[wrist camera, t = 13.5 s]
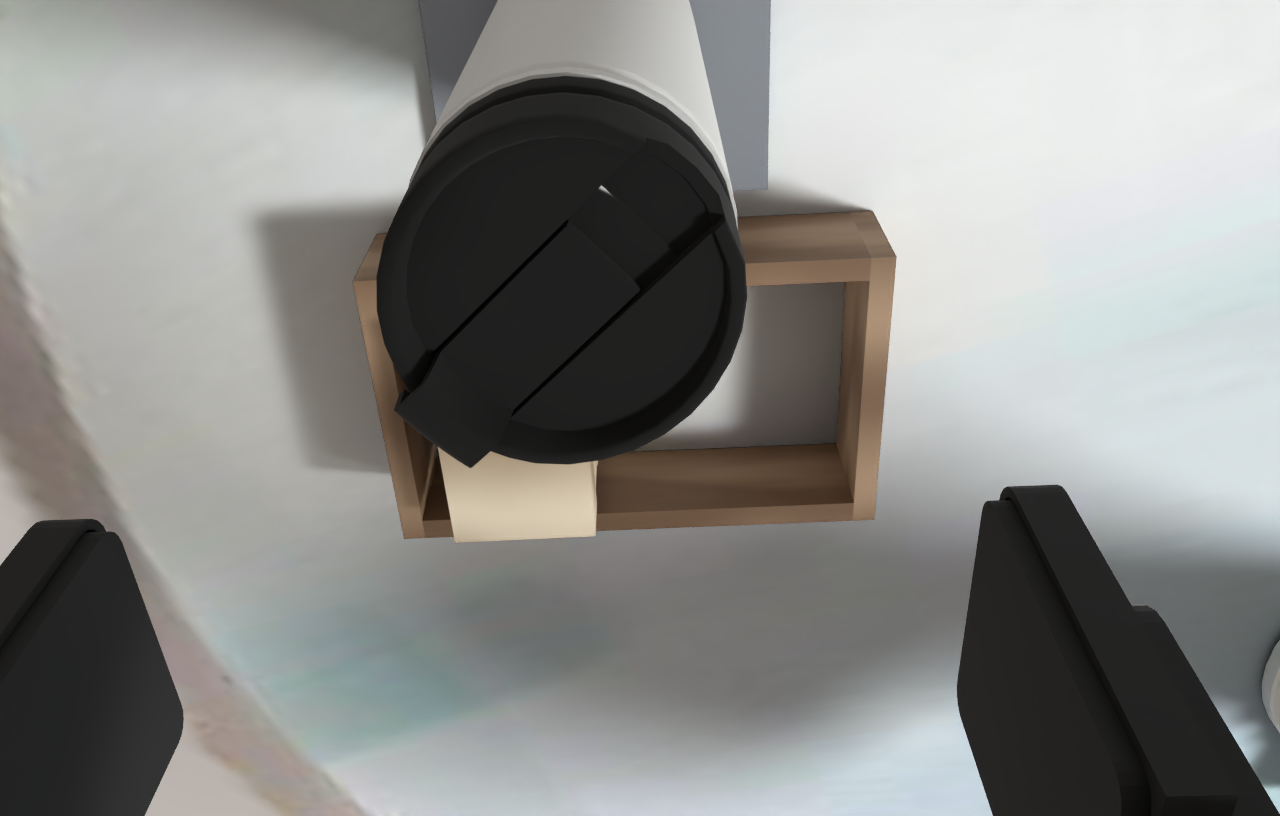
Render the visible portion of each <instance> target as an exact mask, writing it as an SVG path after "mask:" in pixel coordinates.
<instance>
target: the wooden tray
mask: <svg viewBox="0 0 1280 816" xmlns="http://www.w3.org/2000/svg"><path fill="white" fill-rule="evenodd" d="M737 223H738V232H739V237H740V242H741V246H742V251H743V256H744V260H745V267H746V286H761V285H784V284H806V283H828V282H846V288H845V305H844V322H843V339H842V356H841V373H840V389H839V406H838V423H837V440H836V443H834V444H810V445H787V446H763V447H739V448H715V449H691V450H668V451H644V452H626V453H623V454H620V455H617V456H614V457H610V458H607V459H604V460H599V461H598V465H597V474H596V497H597V515H596V531H606V530H630V529H655V528H679V527H704V526H728V525H753V524H777V523H802V522H826V521H851V520H874V515H875V503H876V492H877V480H878V468H879V456H880V444H881V433H882V421H883V409H884V397H885V385H886V374H887V362H888V350H889V338H890V326H891V315H892V303H893V291H894V279H895V267H896V255H895V253H894V251H893V249H892V247H891V245H890V244H889V242H888V240H887V238H886V236H885V234H884V232H883V230H882V228H881V226H880V224H879V222H878V220H877V218H876V216H875V214H874V213H873V211H862V212H840V213H818V214H796V215H774V216H752V217H737ZM386 235H387V233H378V234H376V236H375V238H374V240H373V242H372V244H371V246H370V248H369V250H368V252H367V254H366V256H365V258H364V260H363V262H362V264H361V266H360V267H359V269H358V271H357V273H356V275H355V277H354V279H353V281H352V282H353V286H354V291H355V296H356V301H357V306H358V311H359V316H360V321H361V326H362V331H363V336H364V341H365V346H366V351H367V356H368V361H369V366H370V371H371V376H372V381H373V386H374V391H375V396H376V401H377V406H378V411H379V416H380V421H381V426H382V431H383V436H384V441H385V446H386V451H387V456H388V461H389V466H390V471H391V476H392V481H393V486H394V491H395V496H396V501H397V506H398V511H399V516H400V521H401V525H402V530H403V535H404V539H410V538H435V537H454V534H453V529H452V523H451V518H450V512H449V507H448V501H447V496H446V490H445V484H444V479H443V473H442V468H441V462H440V460H438V455H437V450H436V445H435V444H433V443H432V442H431V441H429V440H428V439H427V438H425V437H424V436H423V435H422V434H420V433H419V432H418V431H417V430H415V429H414V428H413V427H412V426H410V425H409V424H408V423H407V422H406V421H405V420H404V419H403V418H402V417H401V416H400V415H398V414H397V413H396V412H395V411H394V408H395V405H396V402H397V399H398V396H399V394H400V393H401V392H402V391H403V390H404V389H405V390H407V391H408V392H409V390H408V389H407V387H406V385H405V384H404V382H403V380H402V379H401V377H400V375H399V374H398V372H397V371H396V369H395V367H394V365H393V362H392V360H391V358H390V356H389V354H388V351H387V349H386V347H385V345H384V341H383V337H382V332H381V328H380V323H379V319H378V314H377V286H376V276H377V271H378V266H379V261H380V256H381V252H382V247H383V242H384V240H385V237H386ZM409 393H410V392H409Z"/></svg>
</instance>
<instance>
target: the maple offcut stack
mask: <svg viewBox="0 0 1280 816" xmlns="http://www.w3.org/2000/svg"><path fill="white" fill-rule="evenodd" d="M438 451H439V457H440V462H441V468H442V473H443V479H444V484H445V490H446V496H447V501H448V507H449V512H450V518H451V523H452V529H453V534H454V540H455V543H460V542H482V541H503V540H525V539H546V538H568V537H589V536H596V515H597V497H596V474H597V465H598V461H592V462H584V463H577V464H570V465H567V464H539V463H531V462H527V461H522V460H517V459H512V458H508V457H506V456H503V455H500V454H497V453H494V452H491V451H490V452H489V453H488V454H487V455H486V456H485V457H483V458H482V459H481V460H480V461H479V462H478V463H477V464H476V465H474V466H473V467H472V468H469V467H467V466H466V465H464V464H462V463H461V462H459V461H458V460H456V459H455V458H453V457H452V456H450V455H449V454H447V453H446V452H445V451H443V450H442V449H440V448H439V447H438Z"/></svg>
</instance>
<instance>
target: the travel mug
mask: <svg viewBox="0 0 1280 816" xmlns="http://www.w3.org/2000/svg"><path fill="white" fill-rule="evenodd" d="M376 286H377V314H378V319H379V323H380V328H381V332H382V337H383V341H384V345H385V347H386V349H387V351H388V354H389V356H390V358H391V360H392V362H393V365H394V367H395V369H396V371H397V372H398V374H399V375H400V377H401V379H402V380H403V382H404V384H405V385H406V387H407V389H408V390H409V392H410V393H409V392H408V391H407V390H405V389H404V390H403V391H402V392H401V393H400V394H399V396H398V399H397V402H396V405H395V408H394V411H395V412H396V413H397V414H398V415H400V416H401V417H402V418H403V419H404V420H405V421H406V422H407V423H408V424H409V425H410V426H412V427H413V428H414V429H415V430H417V431H418V432H419V433H420V434H422V435H423V436H424V437H425V438H427V439H428V440H429V441H431V442H432V443H433V444H435V445H436V446H438V447H439V448H440V449H442V450H443V451H445V452H446V453H447V454H449V455H450V456H452V457H453V458H455V459H456V460H458V461H459V462H461V463H462V464H464V465H466V466H467V467H469V468H472V467H473V466H474V465H476V464H477V463H478V462H479V461H480V460H481V459H482V458H483V457H485V456H486V455H487V454H488V453H489V452H490V451H491V452H494V453H497V454H500V455H503V456H506V457H508V458H512V459H517V460H522V461H527V462H531V463H539V464H567V465H570V464H577V463H584V462H592V461H599V460H604V459H607V458H610V457H614V456H617V455H620V454H623V453H626V452H630V451H633V450H635V449H637V448H639V447H641V446H643V445H645V444H647V443H649V442H651V441H653V440H655V439H657V438H659V437H660V436H662V435H664V434H666V433H667V432H668V431H670V430H671V429H672V428H674V427H675V426H676V425H677V424H679V423H680V422H681V421H683V420H684V419H685V418H687V417H688V416H689V415H691V414H692V413H693V411H694V410H695V409H696V408H697V407H698V406H699V405H700V404H701V403H702V401H703V400H704V399H705V398H706V397H707V396H708V395H709V394H710V393H711V392H712V390H713V389H714V388H715V386H716V384H717V383H718V381H719V379H720V378H721V376H722V375H723V373H724V371H725V370H726V368H727V366H728V365H729V363H730V361H731V359H732V356H733V353H734V351H735V348H736V345H737V343H738V340H739V337H740V334H741V332H742V327H743V321H744V314H745V308H746V301H747V286H746V267H745V260H744V256H743V251H742V246H741V242H740V237H739V232H738V223H737V209H736V204H735V200H734V197H733V191H732V186H731V182H730V177H729V173H728V168H727V164H726V160H725V155H724V151H723V146H722V142H721V137H720V133H719V128H718V124H717V119H716V115H715V110H714V106H713V102H712V97H711V93H710V88H709V84H708V79H707V75H706V70H705V66H704V61H703V57H702V52H701V48H700V44H699V39H698V35H697V30H696V26H695V21H694V17H693V13H692V9H691V5H690V1H689V0H498V1H497V3H496V5H495V7H494V9H493V11H492V13H491V15H490V17H489V19H488V21H487V23H486V25H485V27H484V29H483V31H482V33H481V35H480V37H479V39H478V41H477V43H476V45H475V47H474V49H473V51H472V53H471V55H470V57H469V59H468V61H467V63H466V65H465V67H464V69H463V71H462V73H461V75H460V77H459V79H458V81H457V83H456V85H455V87H454V89H453V91H452V94H451V96H450V98H449V100H448V102H447V104H446V106H445V108H444V110H443V112H442V114H441V116H440V118H439V120H438V122H437V124H436V126H435V128H434V130H433V132H432V134H431V136H430V138H429V140H428V142H427V144H426V146H425V148H424V150H423V152H422V154H421V156H420V159H419V161H418V163H417V165H416V168H415V170H414V172H413V174H412V177H411V179H410V183H409V188H408V190H407V192H406V194H405V196H404V198H403V200H402V202H401V204H400V206H399V208H398V210H397V213H396V215H395V217H394V219H393V222H392V224H391V226H390V228H389V231H388V233H387V235H386V237H385V240H384V242H383V247H382V252H381V256H380V261H379V266H378V271H377V276H376Z"/></svg>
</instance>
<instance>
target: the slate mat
mask: <svg viewBox="0 0 1280 816" xmlns="http://www.w3.org/2000/svg"><path fill="white" fill-rule="evenodd" d="M497 1H498V0H419V6H420V12H421V19H422V26H423V33H424V40H425V47H426V54H427V61H428V68H429V75H430V82H431V89H432V96H433V102H434V109H435V116H436V123H437V122H438V120H439V118H440V116H441V114H442V112H443V110H444V108H445V106H446V104H447V102H448V100H449V98H450V96H451V94H452V91H453V89H454V87H455V85H456V83H457V81H458V79H459V77H460V75H461V73H462V71H463V69H464V67H465V65H466V63H467V61H468V59H469V57H470V55H471V53H472V51H473V49H474V47H475V45H476V43H477V41H478V39H479V37H480V35H481V33H482V31H483V29H484V27H485V25H486V23H487V21H488V19H489V17H490V15H491V13H492V11H493V9H494V7H495V5H496V3H497ZM689 1H690V5H691V9H692V13H693V17H694V21H695V26H696V30H697V35H698V39H699V44H700V48H701V52H702V57H703V61H704V66H705V70H706V75H707V79H708V84H709V88H710V93H711V97H712V102H713V106H714V110H715V115H716V119H717V124H718V128H719V133H720V137H721V142H722V146H723V151H724V155H725V160H726V164H727V168H728V173H729V177H730V182H731V186H732V191H744V190H766V189H767V183H768V125H769V66H770V7H771V0H689Z"/></svg>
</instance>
